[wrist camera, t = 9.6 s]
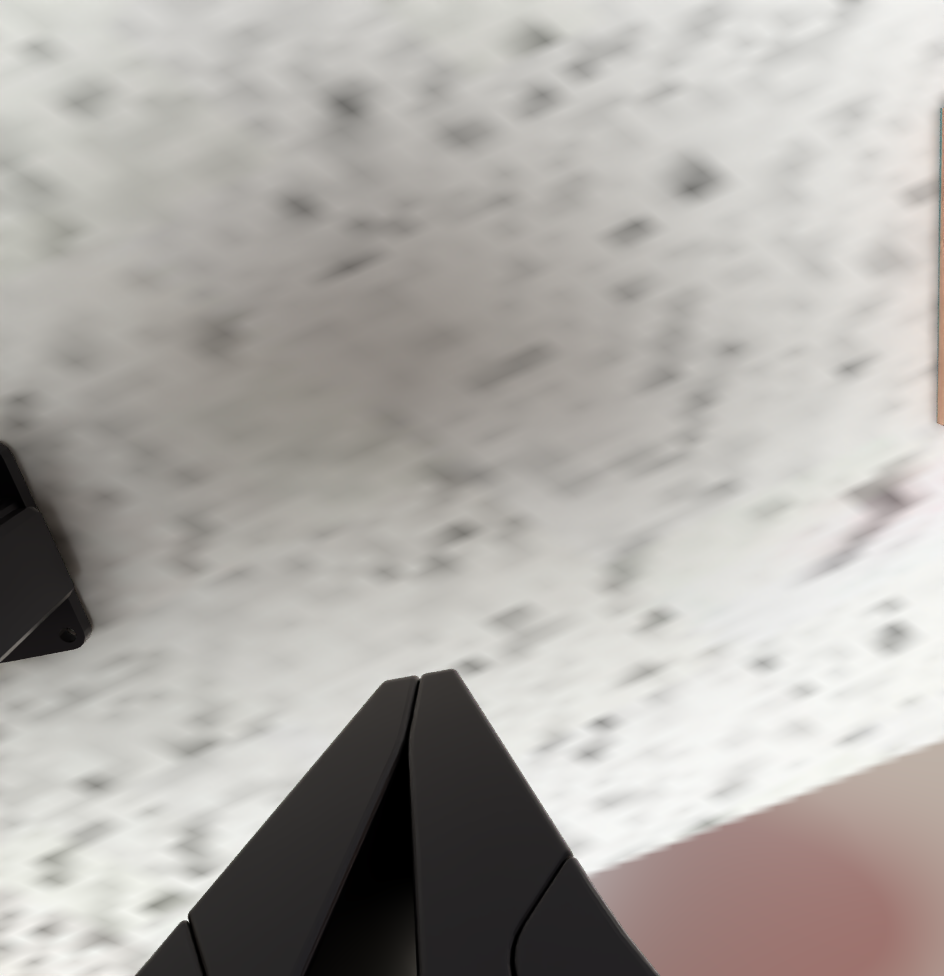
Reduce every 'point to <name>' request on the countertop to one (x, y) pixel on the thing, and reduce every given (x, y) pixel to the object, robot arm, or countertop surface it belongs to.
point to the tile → (941, 284)
